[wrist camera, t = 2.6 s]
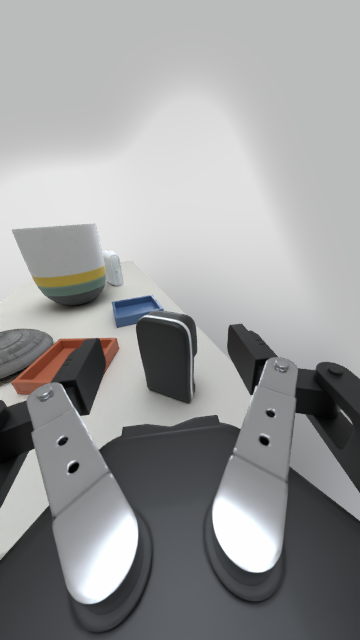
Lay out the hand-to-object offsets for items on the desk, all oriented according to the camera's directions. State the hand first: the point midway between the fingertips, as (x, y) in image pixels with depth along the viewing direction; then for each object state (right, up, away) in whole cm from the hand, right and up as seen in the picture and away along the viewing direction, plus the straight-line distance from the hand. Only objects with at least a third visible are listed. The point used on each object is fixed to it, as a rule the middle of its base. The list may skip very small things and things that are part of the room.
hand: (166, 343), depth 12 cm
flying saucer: (-30, -6, +24) cm, 39 cm away
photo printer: (-25, +16, +66) cm, 72 cm away
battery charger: (0, -8, +16) cm, 18 cm away
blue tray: (-10, +3, +39) cm, 40 cm away
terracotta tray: (-17, -7, +21) cm, 27 cm away
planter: (-30, +7, +50) cm, 59 cm away
